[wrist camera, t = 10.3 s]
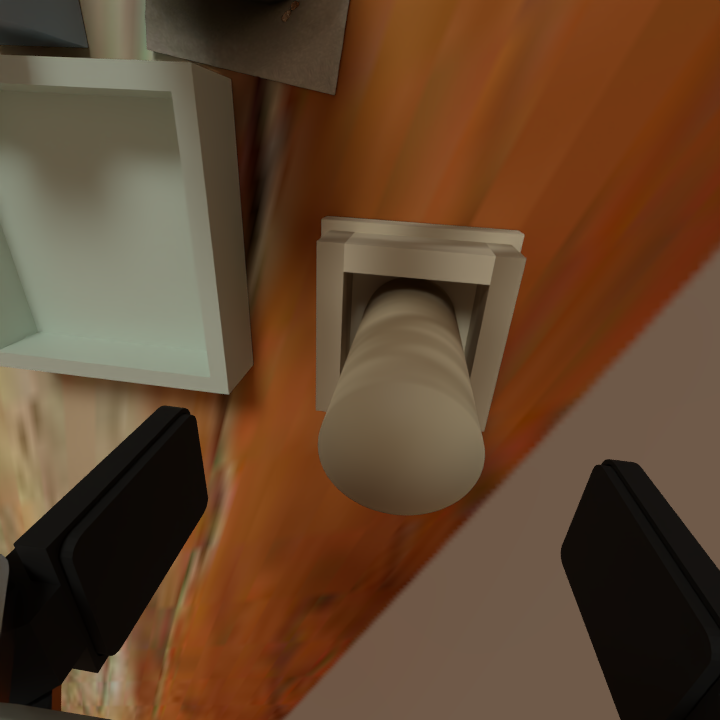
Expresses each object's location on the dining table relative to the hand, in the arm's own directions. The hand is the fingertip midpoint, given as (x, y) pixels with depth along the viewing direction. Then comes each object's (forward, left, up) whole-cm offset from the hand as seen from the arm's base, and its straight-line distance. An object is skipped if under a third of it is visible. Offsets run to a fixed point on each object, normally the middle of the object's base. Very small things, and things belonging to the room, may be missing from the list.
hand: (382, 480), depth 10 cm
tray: (+14, -3, -10) cm, 17 cm away
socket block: (0, -1, -10) cm, 10 cm away
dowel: (0, -1, -9) cm, 9 cm away
